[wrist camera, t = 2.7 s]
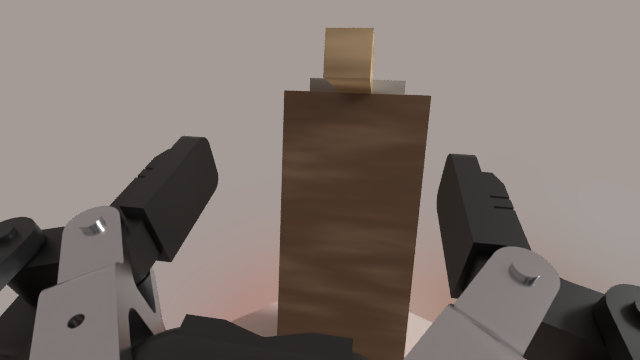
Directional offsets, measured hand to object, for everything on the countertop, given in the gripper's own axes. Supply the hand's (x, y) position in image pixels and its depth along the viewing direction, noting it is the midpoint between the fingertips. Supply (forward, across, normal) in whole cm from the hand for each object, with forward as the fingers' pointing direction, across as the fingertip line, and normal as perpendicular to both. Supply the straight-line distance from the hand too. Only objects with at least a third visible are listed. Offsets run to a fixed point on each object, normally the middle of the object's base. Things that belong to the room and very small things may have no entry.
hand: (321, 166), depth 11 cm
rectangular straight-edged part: (+18, 0, +6) cm, 18 cm away
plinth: (+7, 0, +36) cm, 37 cm away
